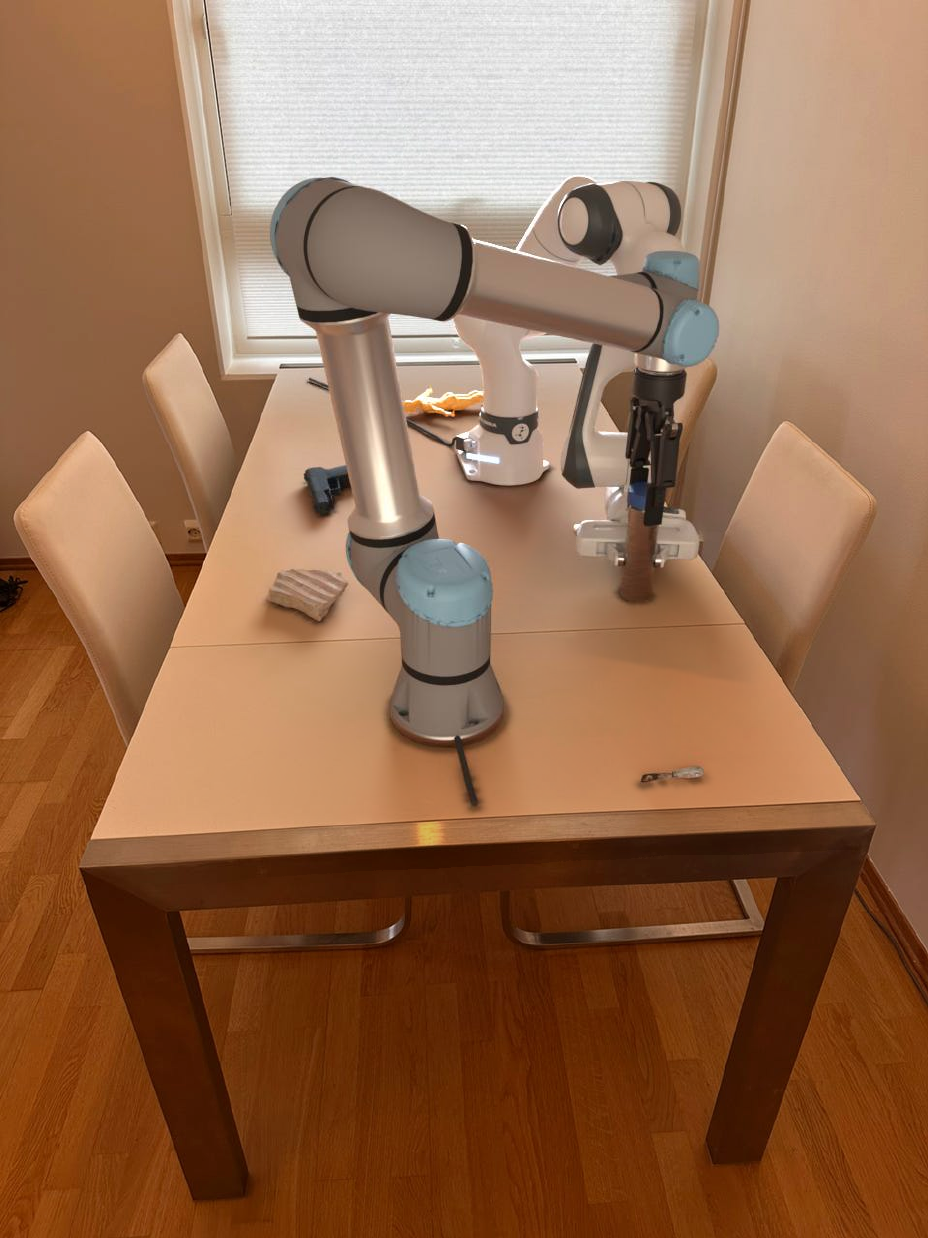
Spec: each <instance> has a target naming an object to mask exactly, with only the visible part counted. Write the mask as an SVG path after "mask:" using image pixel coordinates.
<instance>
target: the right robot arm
mask: <svg viewBox="0 0 928 1238" xmlns="http://www.w3.org/2000/svg"><path fill="white" fill-rule="evenodd" d="M681 223H682V206H681V202H680V198H679V197H678V195H677V194H676V192H675V191H674V190H673V189H672V188H671V187H669V186H667V185H665V184H662V183H659V182H655V181H647V182H643V181H637V180H636V181H635V180H618V181H613V182H604V183H598V182H597V181H596V180H595V179H593V178H591V177H589V176H585V175H578V174H577V175H573V176H569V177H568V178H566V179H565V180H564V181H562V182H561V184H559V185H558V187H557V188H555V190H554V191H553V192H552V193H551V194H550V196H549V197H548V198H547V199H546V201H545V202H544V203H543V205H542V206H541V208H540V209H539V210H538V212H537V214H536V215H535V217H534V219H533V220H532V222H531V224H530V225H529V227H528V228H527V230H526V232H525V234H524V236H523V237H522V239H521V240H520V242H519V244H518V246H517V247H516V249H515V251H518V252H522V253H525V254H529V255H533V256H536V257H540V258H544V259H547V260H551V261H555V262H558V263H562V264H566V265H569V266H573V267H576V268H579V266H580V264H581V263H582V262H583V260H584V259H585V258H586V259H587V260H589V261H591V262H592V263H594V264H596V265H598V266H602V265H604V264H606V263H607V262H608V261H609V263H610V264H612V266H613V267H614V269H615V272H616V275H624V274H633V273H637V272H642V270H643V268H642V267H643V266H644V260H645V257H646V256H647V255H648V254H649V253H653V252H656V251H681V252H685V249H684V246H683V244H682V242H681V240H680V239H679V238H678V237H676V235H677V233H678V231H679V228H680V226H681ZM453 326H454V329H455V330H454V331H455V332H456V334H457V336H458V337H459V339H460V340H461V342H463V343H464V344H465V345H466V346H468V347H469V348H470V349H471V350H472V351H473V352H474V354H475V356H476V358H477V361H478V363H479V367H480V370H481V378H482V392H483V401H482V404H481V405H480V407H481V409H480V412H479V419H478V424H476V425H475V426H474V427H473V428H472V429H470V431H467V432H463V433H460V434H458V435H455V436H454V437H452V440H451V442H447V441H445V440H444V439H442V438H441V437H440V436H439V435H437V434H435V433H433V432H431V431H430V430H428V429H426V428H424V426H421V425H419V424H417V423H416V422H414V421H412V420H410V419H408V418H406V421H407V424H410V425H412V426H413V427H415V428H417V429H418V430H420V431H422V432H424V433H425V434H426V435H429V436H431V437H432V438H434V439H435V440H437V441H439V442H440V443H441V444H444V445H446V446H449V447H453V446H455V449H456V450H457V459H458V460H459V463H460V466H461V469H462V471H463V473H464V475H465V478H466V479H467V480H468V481H473V482H475V481H476V482H483V483H487V484H490V485H491V484H492V485H496V486H521V485H526V484H530V483H533V482H535V481H537V480H539V479H540V478H541V477H542V475H543V473H544V472H545V471H547V470H549V469H550V463H549V462H548V461H547V460H545V451H544V450H545V449H544V447H545V446H544V433H543V431H541V430H540V429H539V428H538V427H539V420H540V415H539V408H538V407H537V406H538V387H539V386H538V384H539V383H538V381H539V375H538V372H537V369H536V367H534V365H533V364H532V363H530V362H529V361H527V360H526V359H524V358H523V356H522V352H521V341H523V340H528V339H532V338H537V337H541V336H544V335H546V334H547V333H542V332H537V331H533V330H528V329H523V328H519V327H514V326H509V325H504V324H500V323H495V322H490V321H486V320H481V319H476V318H471V317H467V316H462V315H456V316H455V317H454V318H453ZM634 359H635V353H634V352H631V351H627V350H622V349H617V348H613V347H608V346H603V345H599V344H594V343H591V346H590V349H589V352H588V355H587V358H586V362H585V366H584V369H583V372H582V375H581V381H580V385H579V388H578V394H577V397H576V400H575V401H576V402H575V406H574V411H573V415H572V419H571V423H570V426H569V431H568V434H567V437H566V439H565V442H564V444H563V446H562V450H561V454H560V463H559V466H560V471H561V476H562V477H563V478H564V480H565V481H567V482H568V483H569V485H571V486H572V487H574V488H575V489H577V490H579V489H593V488H594V489H595V488H606V493H605V497H604V498H605V499H604V505H605V506H604V508H605V509H604V510H605V514H606V519H605V520H602V519H601V520H600V519H598V520H597V519H585V520H583V521H580V523H579V524H574V525H573V528H572V530H573V534H574V536H575V537H576V541H575V553H576V554H577V555H578V556H580V557H592V558H595V557H596V558H607V559H608V560H609V561H611V562H612V563H613V565H614V567H623V566H624V548H625V538H626V529H627V519H628V509H629V508H628V507H627V504H628V503H627V493H628V487H629V484H630V474H631V469H632V467H630V464H629V461H630V459H626V457H625V453H626V445H627V437H628V431H627V432H620V431H598V430H596V429H595V426H596V421H597V417H598V413H599V409H600V405H601V403H602V397H603V393H604V390H605V388H606V386H607V385H608V383H609V382H610V381H611V380H612V379H613V378H615V377H616V376H619V375H620V374H623V373H624V372H627V371H629V370H631V369H636V367H637V366H636V365H635V364H634ZM308 381H310V382H313V383H315V384H318V385H320V386H322V387H325V388H327V389H329V387H328V383H327V384H326V383H324V382H321V381H320V380H317V379H315V378H313V377H309V378H308ZM657 435H658V434H655V435H654V436H657ZM632 450H633V449H632ZM648 459H649V461H650V464H651V451H650V454H649V458H648ZM644 467H647V468H649V474H648V482H651V465H649V466H643V468H644ZM699 548H700V537H699V534H698V532H697V530H696V527H695V526H694V524H693V523H692V522H691V521H689V520H687V513H686V511H685V510H683V509H679V508H674V507H670V506H666V505H664V510H663V518H662V525H659V531H658V540H657V548H656V556H655V564H654V568H659V569H660V568H661V569H662V568H664V567H665V563H666V562H667V561H668V560H677V561H678V560H679V561H693V560H695V559H697V557H698V555H699Z"/></svg>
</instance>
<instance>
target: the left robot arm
mask: <svg viewBox="0 0 928 1238" xmlns="http://www.w3.org/2000/svg"><path fill="white" fill-rule="evenodd" d="M269 241H270V246H271V250H272V253H273V256H274V258H275V259H276V261H277V264H278V265H279V267H280V268H281V270H282V271H283V273H285V275H287V276H288V277H289V282H290V285H291V290H292V294H293V299H294V302H295V306H296V309H297V315H298V318H299V320H300V321H301V322H302V323H304V324H305V325H306V326H308V327H310V328H311V329H312V330H313V331H314V332H315V334H316V338H317V342H318V343H317V344H318V348H319V351H320V356H321V360H322V365H323V368H324V369H323V370H324V374H325V378H326V383H327V385H328V387H329V388H328V391H329V396H330V400H331V404H332V409H333V413H334V418H335V422H336V427H337V432H338V436H339V441H340V445H341V448H342V449H341V450H342V453H343V454H342V455H343V458H344V463H345V465H346V467H347V471H348V476H349V480H350V484H351V486H350V488H351V493H352V497H353V502H354V508H353V509H352V511H351V512H350V514H349V515H348V517H347V527H348V531H349V532H348V533H347V535H346V540H345V556H346V560H347V564H348V565H349V567H350V570H351V572H352V574H353V576H354V577H355V579H356V581H358V583H359V584H360V585H361V587H363V588H364V589H365V590H367V591H368V592H369V594H370V595H371V596H372V597H373V598H374V599H375V601H376V602H377V603H378V604H379V605H380V606H381V607H382V608H383V609H384V610H385V611H386V613H387V614H388V615H389V616H390V617H391V618H392V620H393V621H394V622H395V623H396V624H397V626H398V630H399V633H400V634H399V635H400V655H401V667H400V669H399V672H398V675H397V678H396V681H395V684H394V687H393V690H392V693H391V696H390V700H389V706H390V718H391V721H392V724H393V725H394V727H395V728H396V729H397V731H398V732H399V733H400V734H402V735H403V736H404V737H406V738H407V739H409V740H411V741H413V742H415V743H417V744H420V745H421V744H422V745H425V746H430V747H437V748H454V747H455V749H456V752H457V755H458V756H457V757H458V760H459V764H460V767H461V772H462V775H463V780H464V785H465V787H466V792H467V795H468V798H469V801H470V805H471V806H472V807H476V806H477V805H478V804H479V801H478V798H477V795H476V791H475V788H474V784H473V781H472V777H471V772H470V769H469V768H470V767H469V765H468V760H467V758H466V753H465V749H464V746H467V745H471V744H473V743H476V742H480V741H481V740H483V739H485V738H486V737H488V736H489V735H491V734H492V733H493V732H494V731H495V730H496V729H498V727H499V726H500V724H501V722H502V720H503V717H504V696H503V693H502V690H501V686H500V684H499V681H498V679H497V677H496V674H495V672H494V668H493V666H492V664H491V654H492V653H491V651H492V649H491V648H492V647H491V645H492V602H493V599H494V590H493V582H492V574H491V568H490V565H489V563H488V561H487V560H486V558H485V557H484V555H482V554H481V553H480V552H479V551H478V550H477V549H475V548H474V547H473V546H470V545H468V544H466V543H464V542H459V543H456V542H455V540H453V539H446V538H440V537H439V532H438V531H439V530H438V526H437V519H436V514H435V509H434V505H433V503H432V502H431V501H430V500H429V498H427V497H425V496H424V495H421V494H420V489H419V485H418V478H417V472H416V467H415V461H414V456H413V451H412V444H411V439H410V434H409V433H410V432H409V429H408V422H407V421H406V419H407V416H406V412H405V410H404V404H403V402H404V400H403V393H402V388H401V387H402V386H401V382H400V378H399V372H398V371H399V370H398V366H397V360H396V354H395V349H394V342H393V338H392V332H391V331H392V330H391V326H390V321H389V320H390V319H389V317H390V316H391V315H399V316H408V317H414V318H420V319H421V318H422V319H427V320H432V321H437V322H443V323H446V322H449V321H451V320H454V317H455V316H456V315H462V316H467V317H471V318H476V319H481V320H486V321H490V322H495V323H500V324H504V325H509V326H514V327H519V328H523V329H528V330H533V331H537V332H542V333H546V334H548V335H552V336H556V337H561V338H566V339H571V340H576V341H580V342H585V343H590V344H593V343H594V344H599V345H603V346H608V347H613V348H617V349H622V350H627V351H631V352H634V353H635V359H634V364H635V365H636V366H637V367H635V368H634V369H633V373H632V385H631V392H632V395H633V396H631V397H630V399H629V400H630V401H629V410H630V411H629V412H630V413H629V419H628V430H627V432H628V437H627V445H626V453H625V457H626V459H630V461H629V464H630V467H632V469H631V474H630V484H629V485H631V484H633V483H636V482H648V474H649V468H647V467H644V468H643V466H649V465H651V484H646V486H647V496H646V505H645V514H644V523H643V524H644V526H653V525H662V518H663V510H664V506H665V504H664V502H665V503H666V496H665V494H666V495H667V489H670V488H675V487H676V481H677V471H678V463H679V451H680V441H681V437H682V434H683V430H684V425H683V423H682V422H676V421H675V405H674V404H675V403H676V402H677V401H679V400H681V399H682V398H683V397H684V395H685V393H686V392H685V391H686V384H687V377H688V376H687V375H688V373H687V371H686V370H685V369H687V368H691V367H695V366H697V365H699V364H702V363H703V362H704V361H705V360H706V359H707V358H708V357H709V356H710V354H711V353H712V352H713V350H714V348H715V347H716V344H717V341H718V338H719V335H720V320H719V317H718V315H717V313H716V311H715V309H714V308H713V307H711V306H710V305H708V304H706V303H704V302H701V301H699V300H698V293H699V291H700V273H701V271H700V269H701V262H700V259H699V257H698V256H697V255H695V254H694V253H691V252H687V251H684V252H681V251H656V252H653V253H649V254H648V255H647V256H646V257H645V260H644V266H643V267H642V268H643V270H642V272H637V273H633V274H624V275H617V274H616V275H606V274H603V273H598V272H594V271H591V270H588V269H583V268H580V267H577V268H576V267H573V266H569V265H566V264H562V263H558V262H555V261H551V260H547V259H544V258H540V257H536V256H533V255H529V254H525V253H522V252H518V251H516V250H514V249H511V248H508V247H503V246H499V245H495V244H493V243H489V242H485V241H481V240H477V239H474V238H473V235H472V234H471V232H470V230H469V228H468V227H466V226H464V225H463V224H459V223H455V222H453V221H450V220H446V219H443V218H440V217H438V216H435V215H433V214H431V213H429V212H425V211H424V210H421V209H419V208H418V207H417V208H416V207H414V206H413V205H411V204H409V203H407V202H404V201H403V200H400V199H399V198H397V197H394V196H392V195H390V194H388V193H387V192H384V191H381V190H378V189H375V188H371V187H367V186H363V185H359V184H355V183H352V182H350V181H348V180H346V179H343V178H341V177H337V176H336V177H335V176H328V177H311V178H307V179H304V180H301V181H299V182H297V183H295V184H293V186H291V187H290V188H289V189H288V190H287V191H285V192H284V194H283V195H282V196H281V198H280V199H279V200H278V202H277V204H276V206H275V208H274V210H273V212H272V215H271V219H270V225H269ZM655 434H656V435H657V436H654V435H655ZM632 449H633V450H632ZM650 451H651V464H650V461H649V459H648V458H649V454H650ZM627 507H628V508H629V504H627Z"/></svg>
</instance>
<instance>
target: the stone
mask: <svg viewBox="0 0 928 1238" xmlns="http://www.w3.org/2000/svg"><path fill="white" fill-rule="evenodd" d="M348 585H349V581H348V580H347V579H345V578H344V577H343V576H342V572H334V571H331V570H327V569H312V570H308V569H307V570H306V569H300V568H299V569H298V568H291V569H289V570H283V569H281V570H279V571H278V572H277V574H276V577H275V580H274V582H273V585H272V586H271V588H269V589H268V597H267V601H269V602H271V603H274V604H277V605H280V606H283V607H285V608H292V609H296V610H298V611H300V612H301V613H304V614H305V615H306V616H308V617H310V618H312V619H313V620H315V621H317V622H320V621H322V620H323V619H324V618H325V617H326V616H327V615H328V613H329V610H330V607H331V605H332V604H334V603H335V602H336V600H337V599H338V598H340V597H342V596H343V593H344V592H345V590H346V589H347V586H348Z"/></svg>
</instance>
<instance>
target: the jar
mask: <svg viewBox="0 0 928 1238" xmlns="http://www.w3.org/2000/svg"><path fill="white" fill-rule="evenodd" d="M644 514H645V510H643V509H638V508H635V507H632V506H630V505H629V509H628V519H627V529H626V538H625V548H624V566H622V568H621V578H620V589H619V596H620V598H622V599H623V600H625V601H627V602H630V603H644V602H647V601H648V600H650V599H651V595H652V587H653V580H654V571H655V567H654V564H655V556H656V548H657V540H658V531H659V525H653V526H644V524H643V523H644Z"/></svg>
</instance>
